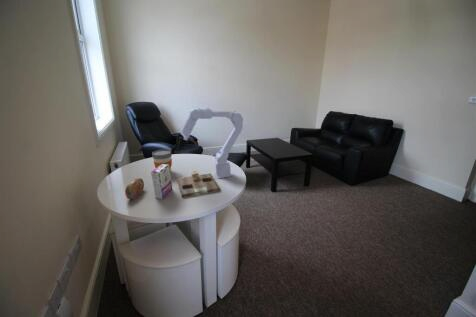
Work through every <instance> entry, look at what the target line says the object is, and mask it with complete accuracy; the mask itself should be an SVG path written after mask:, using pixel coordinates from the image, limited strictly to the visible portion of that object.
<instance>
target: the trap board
mask: <svg viewBox="0 0 476 317" xmlns="http://www.w3.org/2000/svg"><path fill="white" fill-rule="evenodd" d="M176 180H177V185H178V189H179V192H180V196H181V198H187V197H194V196H199V195H205V194H210V193H216V192H220V191H221V187H220V185H219V184H218V182H217V181H216V179H215V177H214V176H213V175H212V173H204V174H199V179H197V180H193V179H192V175H191V176H185V177H179V178H176Z"/></svg>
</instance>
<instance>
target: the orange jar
mask: <svg viewBox="0 0 476 317" xmlns="http://www.w3.org/2000/svg"><path fill="white" fill-rule="evenodd" d="M152 159H153V164H154V167H155V169H156V168H157V167H159V166H160V165H161V164H167V165H169V168H170V174H171V172H172V166H173V162H172V161H173V159H172V151H171V150H170V149H158V150H155V151H152Z"/></svg>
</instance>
